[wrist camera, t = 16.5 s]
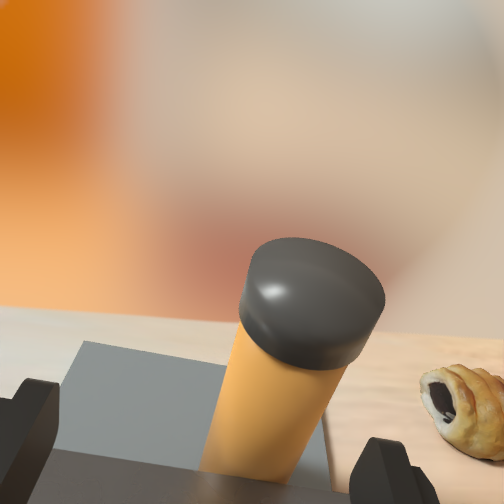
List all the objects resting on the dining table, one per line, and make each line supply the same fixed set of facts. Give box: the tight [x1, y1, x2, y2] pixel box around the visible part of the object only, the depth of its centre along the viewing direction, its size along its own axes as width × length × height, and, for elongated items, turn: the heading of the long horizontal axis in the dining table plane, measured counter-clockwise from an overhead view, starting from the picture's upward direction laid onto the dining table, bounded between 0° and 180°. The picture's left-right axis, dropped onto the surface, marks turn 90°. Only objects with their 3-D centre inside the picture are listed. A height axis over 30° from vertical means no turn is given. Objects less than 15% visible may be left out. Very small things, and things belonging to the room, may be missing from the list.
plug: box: [198, 238, 385, 484], centre depth 19 cm, size 5×5×14 cm
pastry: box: [420, 364, 504, 461], centre depth 31 cm, size 9×7×4 cm
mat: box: [53, 341, 332, 491], centre depth 27 cm, size 16×9×1 cm, turn 89°
